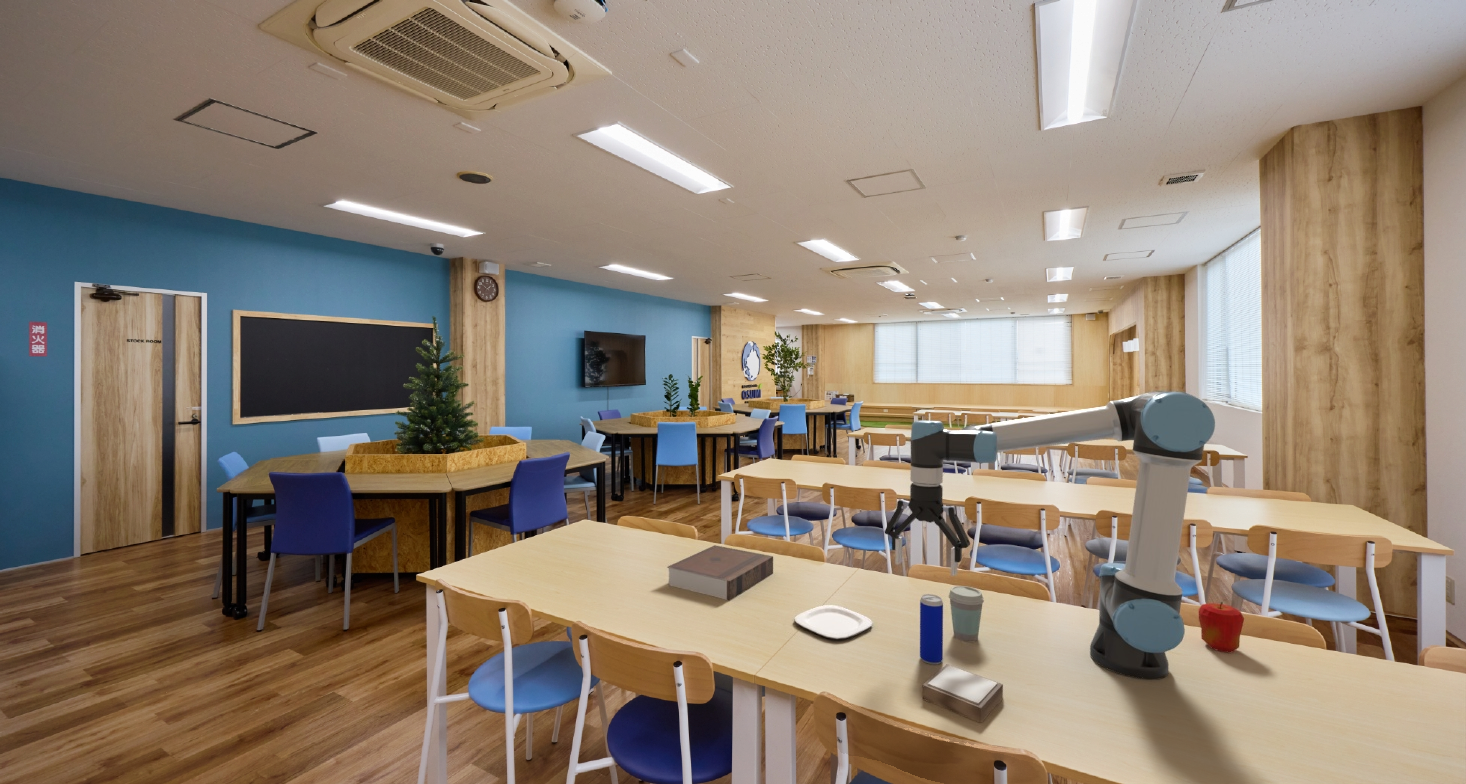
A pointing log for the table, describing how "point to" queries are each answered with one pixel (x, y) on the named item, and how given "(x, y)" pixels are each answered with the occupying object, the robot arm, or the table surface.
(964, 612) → the coffee cup
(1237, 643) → the apple
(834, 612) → the plate
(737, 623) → the table surface
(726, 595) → the book
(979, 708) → the stand
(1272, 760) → the table surface
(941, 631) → the beverage can
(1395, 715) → the table surface
